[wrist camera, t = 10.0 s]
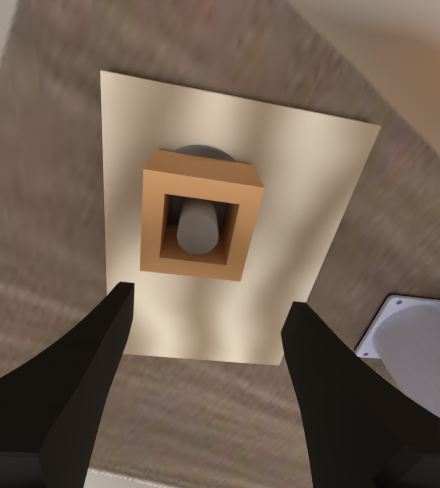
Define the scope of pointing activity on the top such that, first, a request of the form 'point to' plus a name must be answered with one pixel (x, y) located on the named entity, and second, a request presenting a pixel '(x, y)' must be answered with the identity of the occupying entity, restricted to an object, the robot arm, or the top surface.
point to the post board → (224, 212)
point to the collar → (202, 187)
